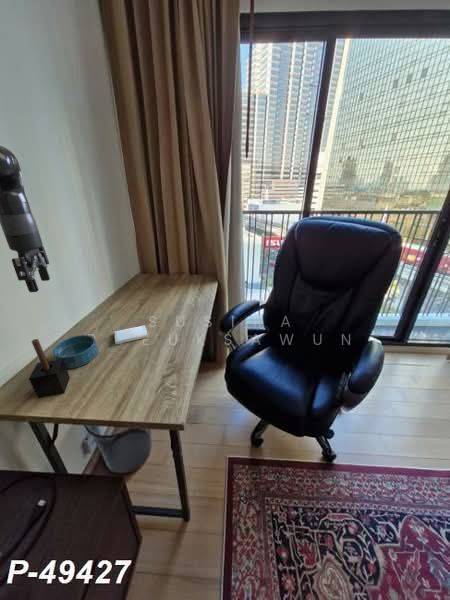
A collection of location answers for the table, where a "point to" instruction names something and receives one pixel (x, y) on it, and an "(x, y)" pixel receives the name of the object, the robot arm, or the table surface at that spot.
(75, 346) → the bowl
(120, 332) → the hard drive
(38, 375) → the holder
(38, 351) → the stick
